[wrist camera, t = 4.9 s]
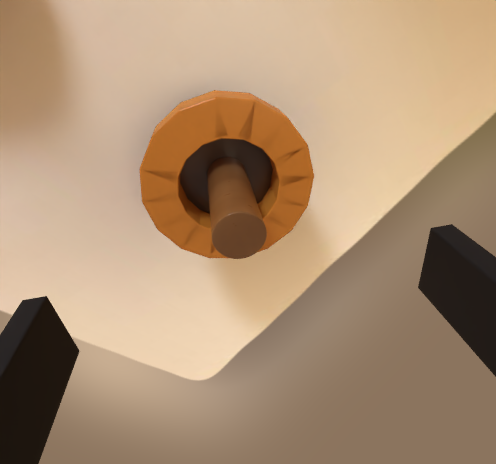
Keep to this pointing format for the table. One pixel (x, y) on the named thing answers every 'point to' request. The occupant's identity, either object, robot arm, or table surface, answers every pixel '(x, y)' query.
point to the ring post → (230, 193)
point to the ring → (211, 129)
